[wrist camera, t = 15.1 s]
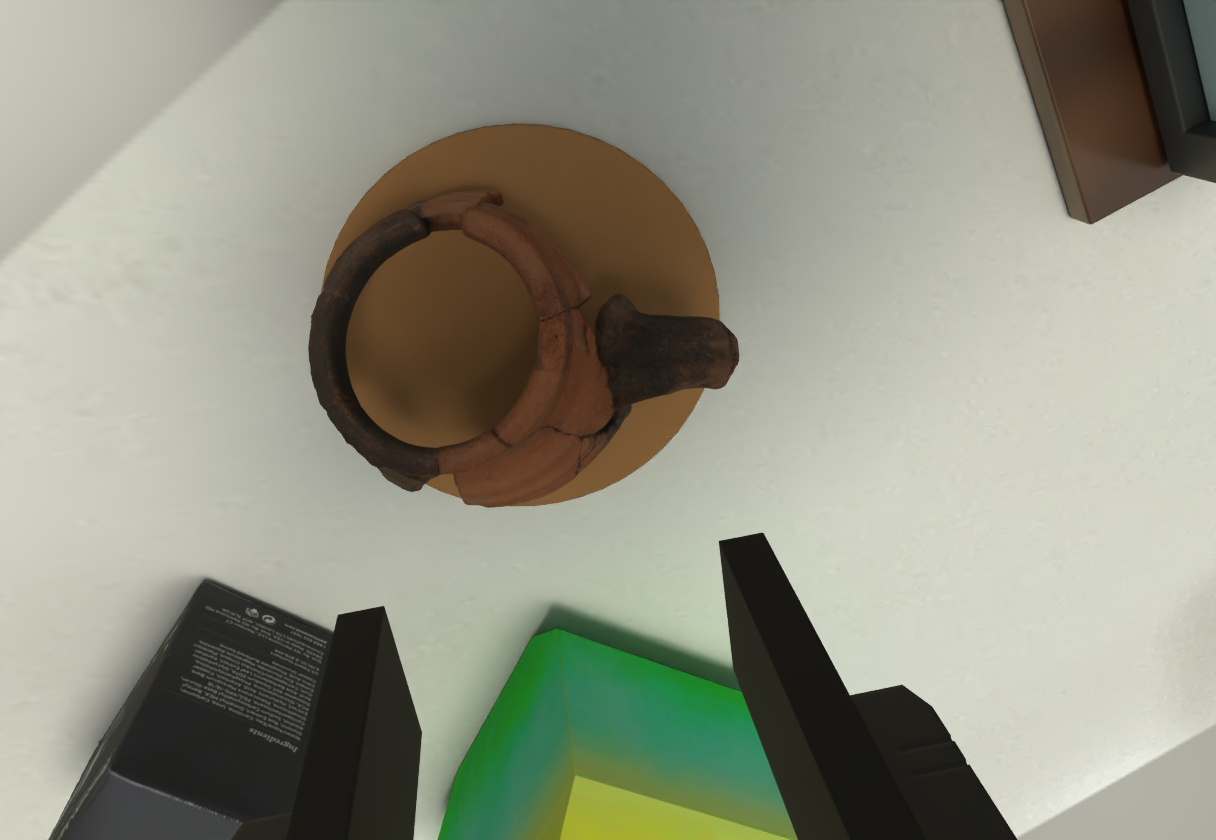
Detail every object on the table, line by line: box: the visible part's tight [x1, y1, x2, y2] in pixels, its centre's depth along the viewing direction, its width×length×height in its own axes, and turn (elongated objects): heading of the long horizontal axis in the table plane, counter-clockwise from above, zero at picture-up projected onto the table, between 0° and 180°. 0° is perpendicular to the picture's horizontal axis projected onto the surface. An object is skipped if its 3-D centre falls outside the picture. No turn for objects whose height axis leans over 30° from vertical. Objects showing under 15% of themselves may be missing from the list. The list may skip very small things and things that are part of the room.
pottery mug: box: [308, 190, 739, 508], centre depth 28 cm, size 12×10×8 cm
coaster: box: [321, 124, 720, 506], centre depth 31 cm, size 13×13×1 cm
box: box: [48, 581, 333, 840], centre depth 31 cm, size 9×6×10 cm, turn 145°
